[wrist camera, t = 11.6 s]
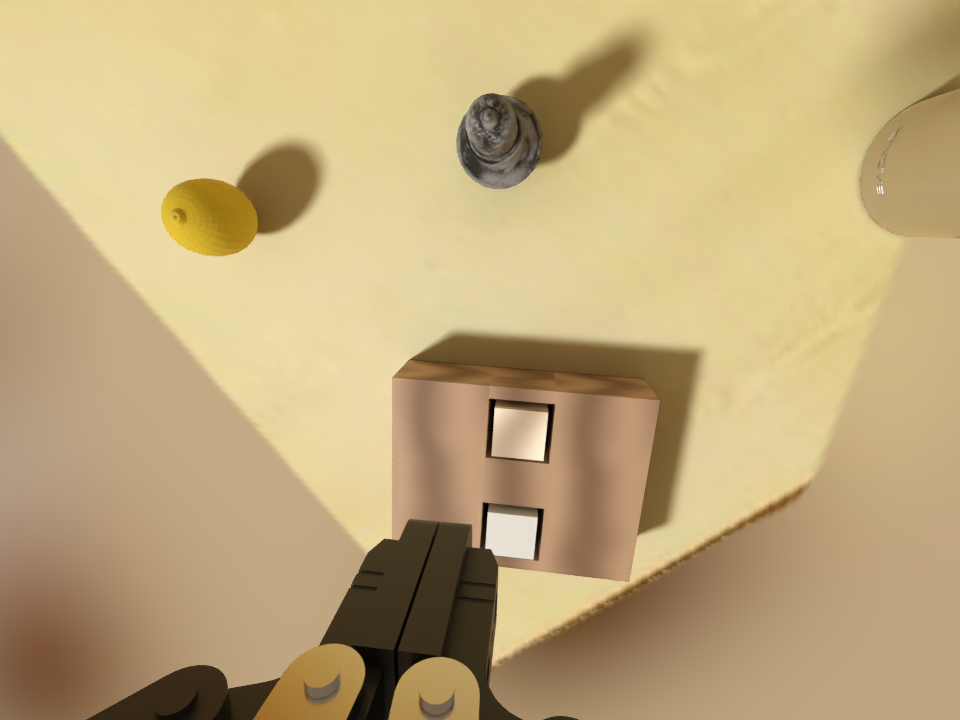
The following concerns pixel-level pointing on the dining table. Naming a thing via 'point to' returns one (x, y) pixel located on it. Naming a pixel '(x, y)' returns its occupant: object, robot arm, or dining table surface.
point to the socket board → (520, 482)
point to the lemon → (209, 217)
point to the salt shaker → (499, 141)
